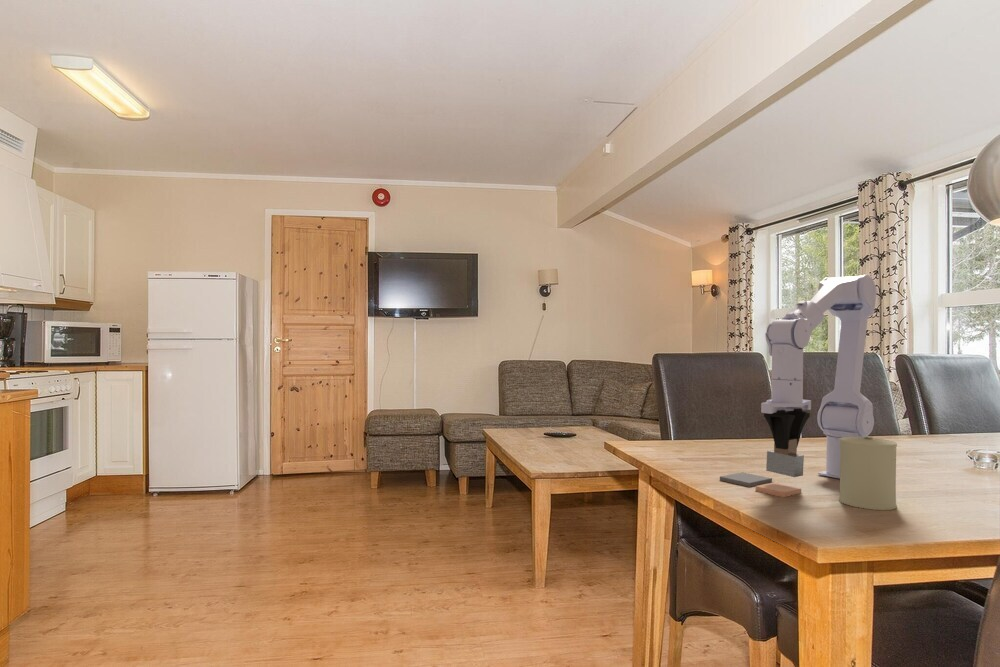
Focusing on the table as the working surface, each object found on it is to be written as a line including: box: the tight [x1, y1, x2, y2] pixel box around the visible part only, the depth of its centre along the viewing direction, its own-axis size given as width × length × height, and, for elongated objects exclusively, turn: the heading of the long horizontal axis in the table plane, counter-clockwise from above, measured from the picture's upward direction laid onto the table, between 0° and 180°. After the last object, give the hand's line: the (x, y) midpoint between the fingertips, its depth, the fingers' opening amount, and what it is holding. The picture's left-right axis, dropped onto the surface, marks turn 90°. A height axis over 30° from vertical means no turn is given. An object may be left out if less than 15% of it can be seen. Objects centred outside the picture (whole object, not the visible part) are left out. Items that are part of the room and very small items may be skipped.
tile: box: [755, 482, 802, 498], centre depth 124 cm, size 1×6×6 cm
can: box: [838, 436, 898, 511], centre depth 116 cm, size 9×9×12 cm
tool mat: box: [719, 471, 773, 488], centre depth 132 cm, size 8×7×1 cm
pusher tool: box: [765, 437, 805, 478], centre depth 125 cm, size 3×6×7 cm, turn 35°
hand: (786, 447), depth 125 cm, fingers closed on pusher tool, 3 cm apart
